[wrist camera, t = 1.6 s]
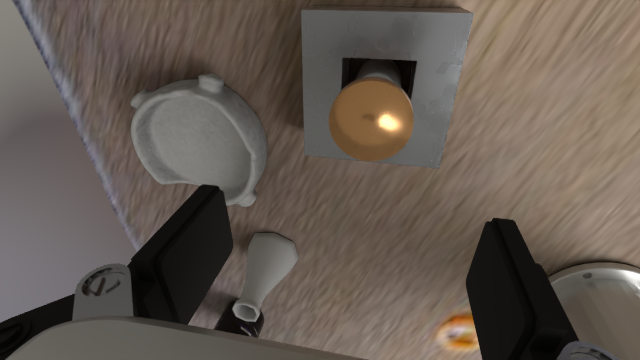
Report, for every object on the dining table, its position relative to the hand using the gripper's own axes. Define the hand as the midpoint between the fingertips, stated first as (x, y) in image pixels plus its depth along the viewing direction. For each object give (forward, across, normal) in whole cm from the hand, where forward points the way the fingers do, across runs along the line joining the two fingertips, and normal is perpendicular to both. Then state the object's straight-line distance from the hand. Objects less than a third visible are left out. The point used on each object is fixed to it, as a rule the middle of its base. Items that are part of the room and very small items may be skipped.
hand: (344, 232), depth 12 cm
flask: (+22, +12, +24) cm, 35 cm away
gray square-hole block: (+22, 0, 0) cm, 22 cm away
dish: (+23, +18, +7) cm, 30 cm away
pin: (+22, 0, 0) cm, 22 cm away
